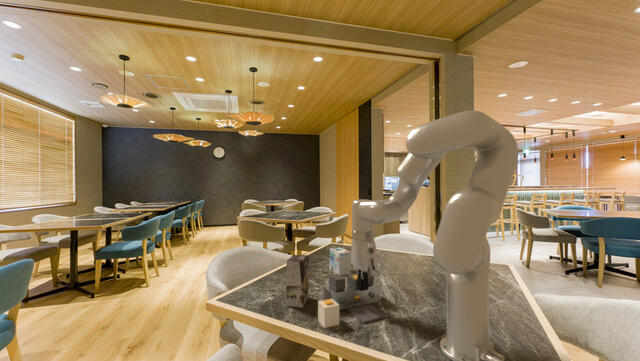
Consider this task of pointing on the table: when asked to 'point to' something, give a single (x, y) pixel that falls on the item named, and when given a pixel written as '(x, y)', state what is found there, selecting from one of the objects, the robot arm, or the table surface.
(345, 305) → the breaker console
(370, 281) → the toggle right
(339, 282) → the toggle left
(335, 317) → the cap
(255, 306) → the table surface
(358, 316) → the pad
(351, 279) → the toggle mid
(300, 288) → the coffee box
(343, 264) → the light bulb box
